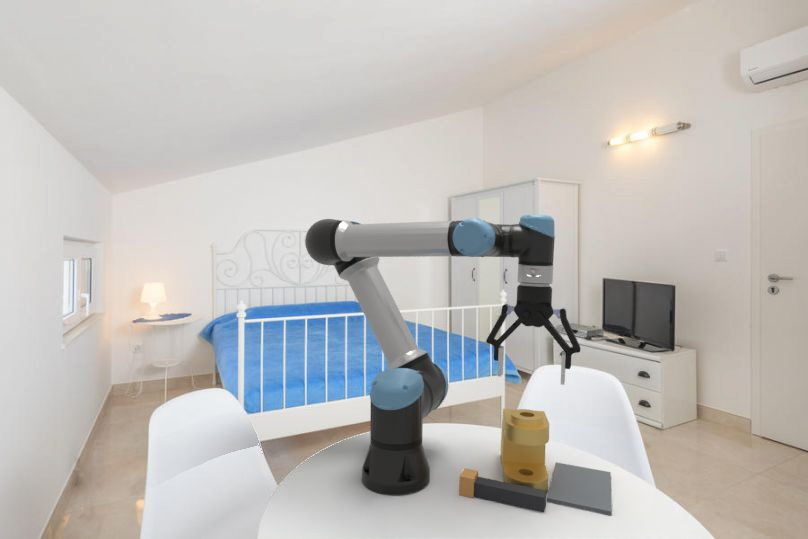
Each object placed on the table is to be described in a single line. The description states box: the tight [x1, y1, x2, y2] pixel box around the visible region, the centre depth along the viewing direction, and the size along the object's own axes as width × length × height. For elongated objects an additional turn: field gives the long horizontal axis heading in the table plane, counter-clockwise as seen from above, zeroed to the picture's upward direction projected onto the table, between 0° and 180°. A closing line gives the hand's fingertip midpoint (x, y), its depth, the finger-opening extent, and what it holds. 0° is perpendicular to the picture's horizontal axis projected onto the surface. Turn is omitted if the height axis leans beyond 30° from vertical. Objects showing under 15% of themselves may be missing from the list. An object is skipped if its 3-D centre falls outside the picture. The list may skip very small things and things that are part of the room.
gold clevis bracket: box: [500, 408, 550, 495], centre depth 104 cm, size 20×9×16 cm, turn 171°
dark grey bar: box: [458, 468, 547, 514], centre depth 94 cm, size 17×4×4 cm, turn 66°
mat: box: [546, 461, 612, 516], centre depth 99 cm, size 12×18×1 cm, turn 156°
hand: (530, 379), depth 103 cm, fingers open, 13 cm apart
